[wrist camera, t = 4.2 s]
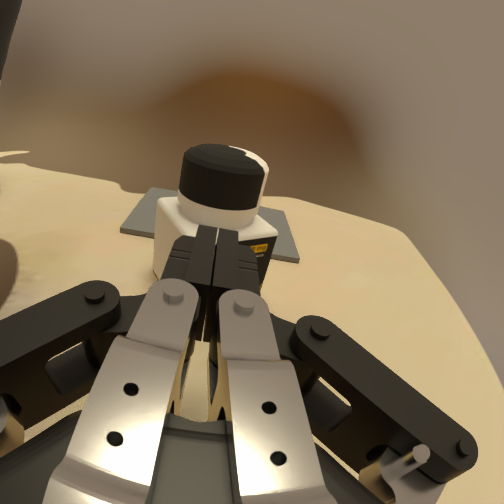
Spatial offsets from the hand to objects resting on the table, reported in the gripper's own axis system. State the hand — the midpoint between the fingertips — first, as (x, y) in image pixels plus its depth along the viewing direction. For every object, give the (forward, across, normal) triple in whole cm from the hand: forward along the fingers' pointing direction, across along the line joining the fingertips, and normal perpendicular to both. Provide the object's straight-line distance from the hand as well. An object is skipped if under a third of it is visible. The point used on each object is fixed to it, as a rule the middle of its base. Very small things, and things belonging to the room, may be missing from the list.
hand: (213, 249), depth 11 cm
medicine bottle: (+10, 0, +10) cm, 15 cm away
